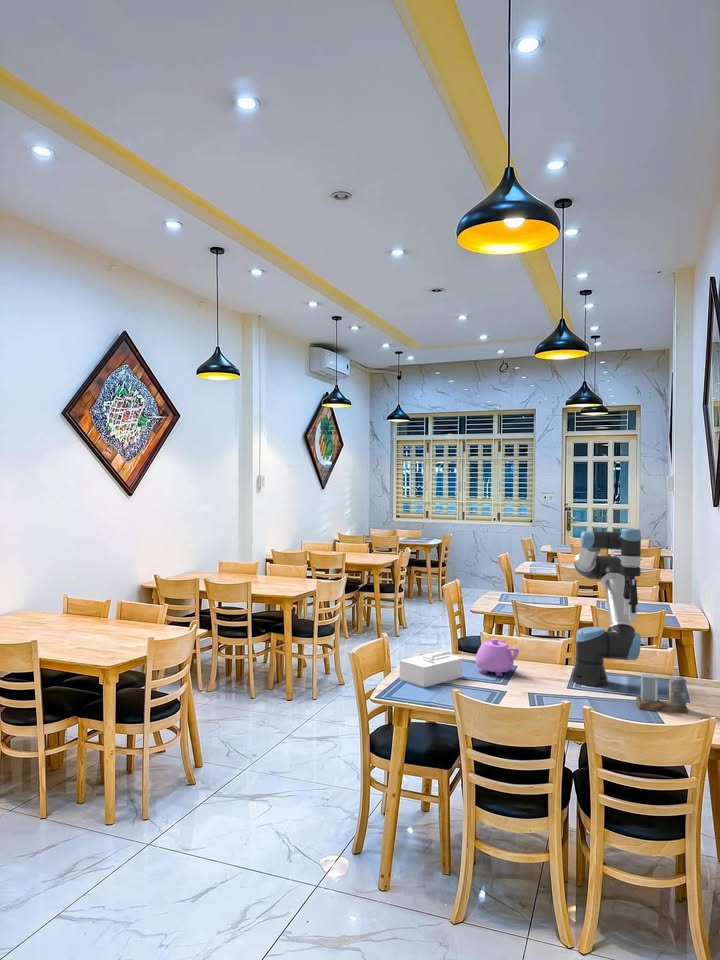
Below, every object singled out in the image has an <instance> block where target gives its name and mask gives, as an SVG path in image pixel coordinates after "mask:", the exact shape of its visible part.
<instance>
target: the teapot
mask: <svg viewBox="0 0 720 960" xmlns="http://www.w3.org/2000/svg"><path fill="white" fill-rule="evenodd" d="M512 651H513V654H512ZM519 653H520V649H519V647H509V644H508V643H506V641H505V640H499V639H498V638H491V639H490V640H487V641H483V642H482V643H481V645H480V646H479V648H478V650H477V652H476V656H475V664H476V666H477V668H478V669H480V670H481V671H480V674H487V673H488V672H492V673H495V676H497V677H502V676H503V673H509V671H510V670H511V669H512V667H513V666H514V662H515V660H516V659H517V658H518V656H519Z"/></svg>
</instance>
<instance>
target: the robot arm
mask: <svg viewBox="0 0 720 960" xmlns="http://www.w3.org/2000/svg"><path fill="white" fill-rule="evenodd" d="M641 533H642V531H641V530H640V529H639V528H629V527H628V528H627V527H626V528H622V529H621V531H602V530H599V531H597V530H595V531H594V530H585V531H582V532H581V533H580V539H579V540H580V547H581V549H580V552H579V553H578V554H577V555H576V556H575V559H574V562H573V564H574V567H575V570H576V572H577V573H578V574H579V575H581V576H583V577H584V578H586V579H588V580H598V581H600V584H601V585H602V587H604V590H605V599H606V600H605V601H606V608H607V613H608V614H607V615H608V623H609V627H608V628H607V629H606V631H605V628H603V627H602V626H601V627H600V626H598V627H597V626H585V627H581V628H579V629H577V630H576V636H575V663H574V666H573V670H572V671H571V680H570V681H572V682H574V683H576V684H579V685H584V686H587V687H588V686H591V687H603V686H606V685H608V683H609V678H608V673H607V672H606V667H605V665H604V664H605V662H604V661H605V659H607V660H622V661H636V660H638V659H639V656H640V653H641V643H642V641H641V640H642V638H641V634H640V633H639V632H636V629H635V627H634V626H632V625H631V622H638V621H637V615H638V613H637V612H638V607H637V605H638V604H639V600H638V585H637V582H638V580H637V579H636V577H640V576H641V572H642V571H641V569H642V567H640V566H641V562H642V561H643V558H641V555H642V554H641V552H642V549H641V548H642V547H641V546H642V545H641V543H642V534H641ZM601 550H619V551H620V550H621V551H620V555H599V553H600V552H601Z"/></svg>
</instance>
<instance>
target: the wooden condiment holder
mask: <svg viewBox="0 0 720 960" xmlns="http://www.w3.org/2000/svg"><path fill="white" fill-rule="evenodd" d="M635 702H636V705H638V706H637V708H638V709H639V710H644V709H645V710H647V711H656V712H667V713H677V714H688V713H689V711H688V710H689V709H688V707H687V680H686V678H685V677H682V676H671V677H670V678H669V679H668V700H660V699H659V698H658V697H657V702H656V701H655V702H648V701H641V695H636V701H635Z"/></svg>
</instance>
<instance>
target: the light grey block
mask: <svg viewBox="0 0 720 960" xmlns="http://www.w3.org/2000/svg"><path fill="white" fill-rule="evenodd" d="M640 696H641V701H648V702H655V701H656V702H657V698H658V679H657V678H656V677H655V675H653V674H645V673H641V674H640Z"/></svg>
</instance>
